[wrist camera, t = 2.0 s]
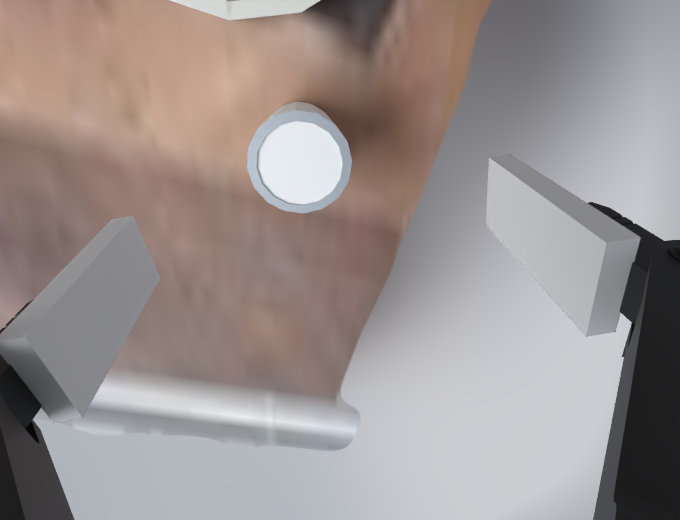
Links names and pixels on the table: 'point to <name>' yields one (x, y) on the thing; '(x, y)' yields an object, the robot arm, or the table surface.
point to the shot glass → (299, 159)
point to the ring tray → (248, 7)
